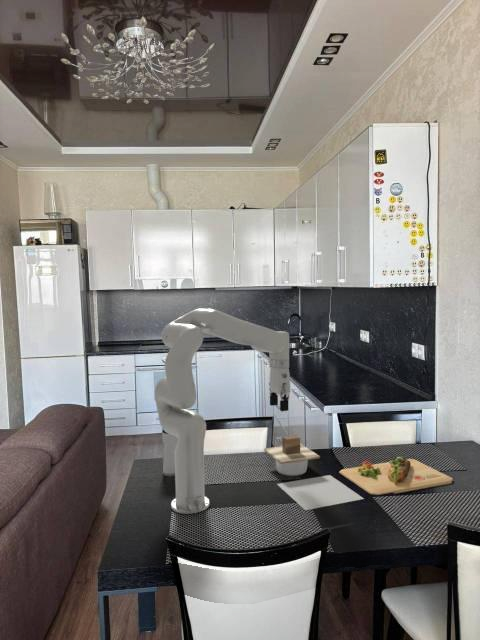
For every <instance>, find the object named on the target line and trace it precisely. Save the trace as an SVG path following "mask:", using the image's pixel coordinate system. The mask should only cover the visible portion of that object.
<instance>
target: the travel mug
mask: <svg viewBox="0 0 480 640" xmlns="http://www.w3.org/2000/svg"><path fill="white" fill-rule="evenodd" d="M161 430H162V431H161V433H162V434H161V437H162V438H161V439H162V472H163V476H165V477H175V448H176V445H177V443H178V438H177V437H175V436H173V435H170V434H168V433H166V432H165V431H164V430H163V429H161Z"/></svg>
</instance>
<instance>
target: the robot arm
mask: <svg viewBox="0 0 480 640" xmlns="http://www.w3.org/2000/svg"><path fill="white" fill-rule="evenodd" d="M204 334H208V335H211V336H214V337H217V338H219V339H223V340H225V341H227V342H231V343H234V344H239V345H244V346H250V347H251V349H253V350H254V351H256V352H261V353H262V352H264V353H269V356H268V357H269V369H270V370H269V381H268V384H269V389H268V390H269V406H278V405H279V411H280V412H287V411H289V400H290V394H291V377H290V369H289V368H290V334H289V332H288V331H284V330H283V331H281V330H273V329H271V328H269V327H266V326H263V325H259V324H255V323H252V322H250V321H246V320H243V319H241V318H238V317H235V316H233V315H230V314H228V313H225V312H224V311H223V312H222V311H220V310H217V309H215V308H214V309H212V308H196V309H194V310H191V311H189V312H188V313H185V314H183V315H182V316H180V317H178V318H177V319H174V320H172V321H171V322H169V323H167V324H166V326H165V327H163V329H162V332H161V341H162V343H163V344H164V345H165V346H166V347H167V348H169V350H168V353H167V355H166V356H165V361H164V372H165V377H162V378H160V380H159V381H158V382H157V383H156V385H155V387H154V400H155V404H156V405H155V406H156V410H157V411H156V412H157V415H158V420H159V421H158V422H159V424H160V426H161V428H162V429H163V430H164V431H165V432H166V433H168V434H170V435H173V436H175V437H177V438H178V443H177V445H176V448H175V476H174V483H175V484H174V485H175V486H174V487H175V498H174V499H173V500H171V503H170V507H171V510H172V511H174V512H176V513H178V514H184V515H192V514H193V513H194V514H198V513H197V512H199V513H202V512H204V511H206V510H207V509H208V508H209V506H210V499H209V498H208V496H206V495H205V494H206V492H205V491H206V490H205V453H204V452H205V440H206V439H205V438H206V432H207V423H206V420H205V418H204V417H203V415H201V414H200V413H198V412H196V411H193V410H190V409H191V408H192V407H194V405H195V404H196V401H197V390H196V386H195V385H196V384H195V379H194V375H193V366H192V364H193V358H194V356H195V355H196V352H198V350H199V348H200V347H201V346H202V344H203V341H204ZM279 397H280V400H279ZM162 429H161V430H162ZM203 510H204V511H203ZM201 511H202V512H201Z"/></svg>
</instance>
